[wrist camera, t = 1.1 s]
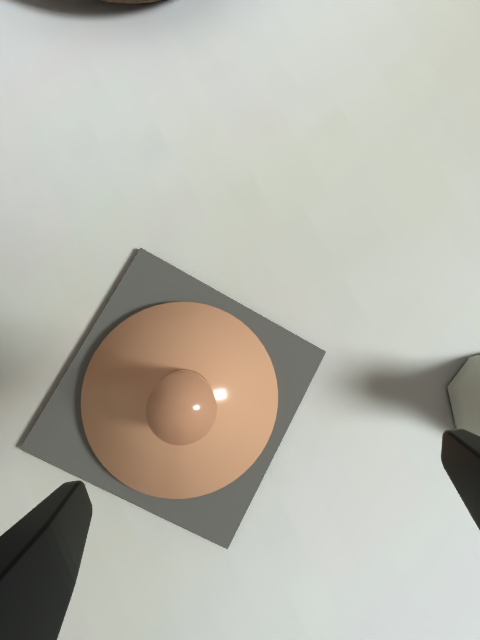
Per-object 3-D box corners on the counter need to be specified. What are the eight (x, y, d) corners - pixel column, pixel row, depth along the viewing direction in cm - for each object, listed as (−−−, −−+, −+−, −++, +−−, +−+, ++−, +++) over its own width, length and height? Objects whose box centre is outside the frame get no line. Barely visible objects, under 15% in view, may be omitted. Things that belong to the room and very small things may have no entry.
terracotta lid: (221, 527, 22) (228, 570, 17) (44, 441, 20) (7, 466, 16) (306, 357, 23) (331, 360, 19) (146, 269, 22) (135, 251, 18)
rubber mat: (226, 545, 22) (227, 549, 22) (22, 447, 21) (19, 449, 20) (323, 351, 24) (325, 351, 23) (141, 249, 22) (140, 247, 22)
